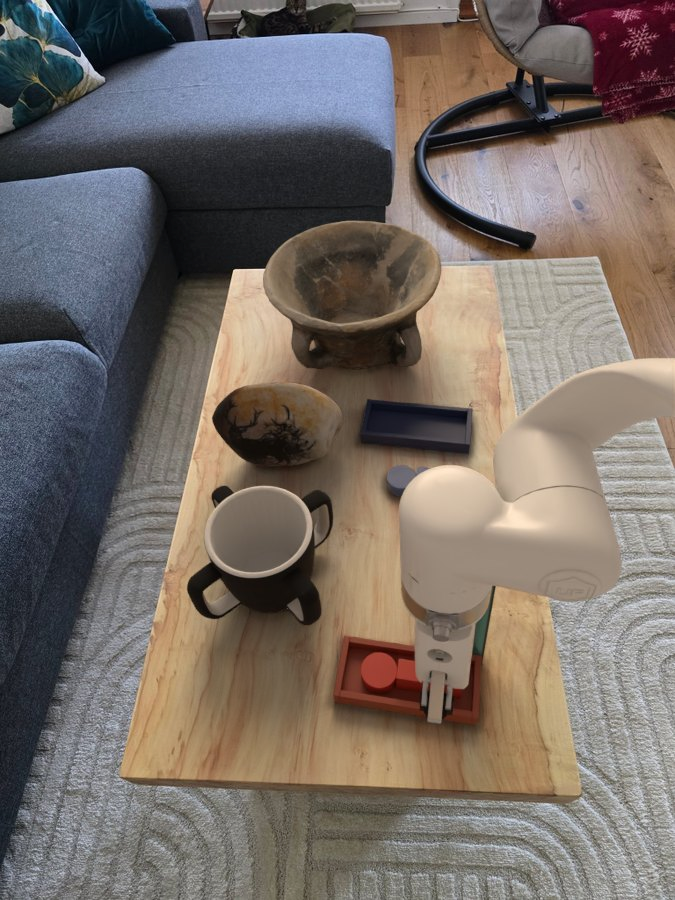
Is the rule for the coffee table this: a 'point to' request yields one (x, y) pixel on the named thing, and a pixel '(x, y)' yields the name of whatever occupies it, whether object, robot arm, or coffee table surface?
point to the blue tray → (417, 426)
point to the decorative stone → (278, 423)
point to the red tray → (395, 700)
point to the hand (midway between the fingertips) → (440, 663)
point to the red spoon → (392, 675)
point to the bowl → (353, 293)
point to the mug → (263, 552)
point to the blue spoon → (401, 478)
